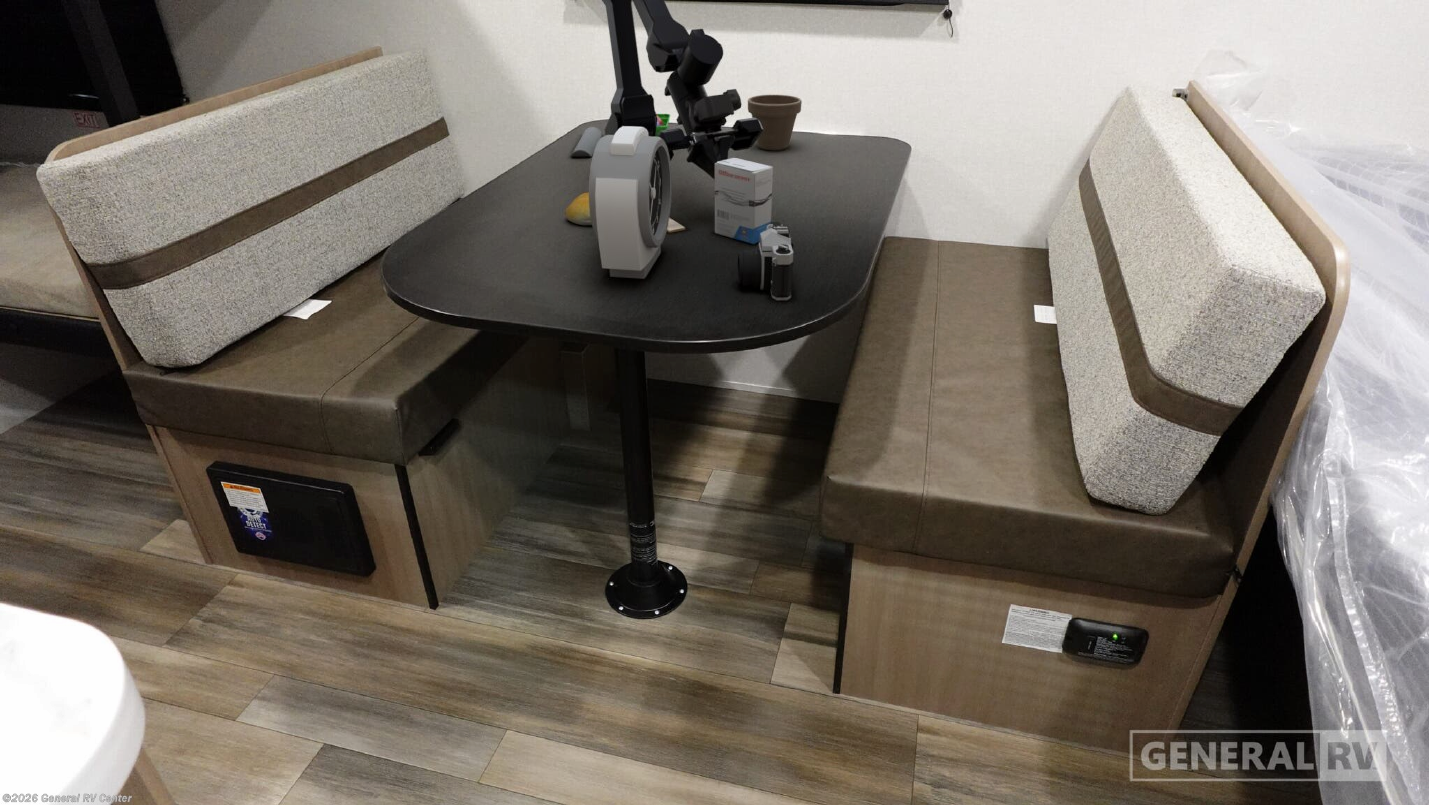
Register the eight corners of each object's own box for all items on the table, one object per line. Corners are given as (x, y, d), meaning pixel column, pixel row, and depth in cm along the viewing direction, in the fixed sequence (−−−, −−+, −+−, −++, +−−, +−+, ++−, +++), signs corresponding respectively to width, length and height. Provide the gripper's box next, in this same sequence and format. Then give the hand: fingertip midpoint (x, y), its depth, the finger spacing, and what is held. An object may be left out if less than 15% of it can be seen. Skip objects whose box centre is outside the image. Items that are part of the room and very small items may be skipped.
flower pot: (765, 137, 198) (766, 90, 193) (809, 144, 193) (811, 97, 187) (736, 148, 190) (736, 100, 185) (781, 156, 185) (782, 107, 179)
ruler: (628, 206, 158) (628, 203, 157) (643, 203, 159) (643, 201, 159) (669, 232, 146) (669, 230, 145) (685, 229, 147) (685, 227, 147)
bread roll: (561, 225, 149) (558, 202, 147) (577, 208, 157) (575, 186, 154) (608, 228, 148) (606, 205, 146) (622, 211, 155) (621, 188, 153)
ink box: (772, 237, 144) (775, 165, 138) (752, 245, 140) (754, 171, 134) (732, 225, 149) (733, 155, 143) (713, 233, 145) (713, 161, 139)
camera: (733, 266, 133) (732, 210, 128) (784, 264, 133) (786, 208, 128) (742, 309, 122) (743, 249, 117) (798, 306, 123) (800, 246, 118)
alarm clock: (648, 289, 126) (642, 147, 115) (591, 285, 127) (579, 144, 117) (675, 244, 141) (671, 115, 130) (624, 241, 142) (616, 113, 132)
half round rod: (570, 158, 184) (569, 149, 183) (583, 134, 201) (583, 126, 200) (590, 158, 184) (590, 149, 183) (602, 134, 201) (601, 126, 200)
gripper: (655, 78, 136) (691, 166, 133) (758, 66, 144) (793, 150, 141) (636, 120, 146) (669, 203, 143) (733, 107, 154) (766, 185, 151)
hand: (725, 184), depth 144 cm, fingers closed
